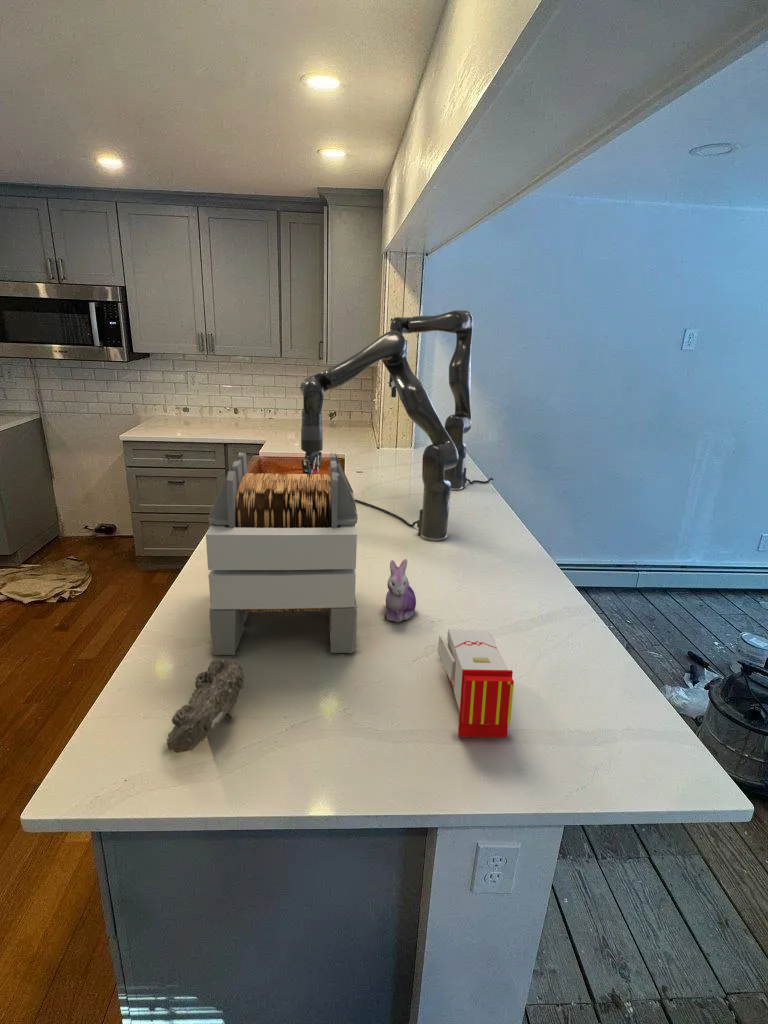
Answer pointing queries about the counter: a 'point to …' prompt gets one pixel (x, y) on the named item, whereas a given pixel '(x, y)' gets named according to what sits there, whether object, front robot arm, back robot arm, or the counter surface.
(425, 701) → the counter surface
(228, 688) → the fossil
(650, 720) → the counter surface
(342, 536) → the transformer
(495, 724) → the toy
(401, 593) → the figurine
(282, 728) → the counter surface
